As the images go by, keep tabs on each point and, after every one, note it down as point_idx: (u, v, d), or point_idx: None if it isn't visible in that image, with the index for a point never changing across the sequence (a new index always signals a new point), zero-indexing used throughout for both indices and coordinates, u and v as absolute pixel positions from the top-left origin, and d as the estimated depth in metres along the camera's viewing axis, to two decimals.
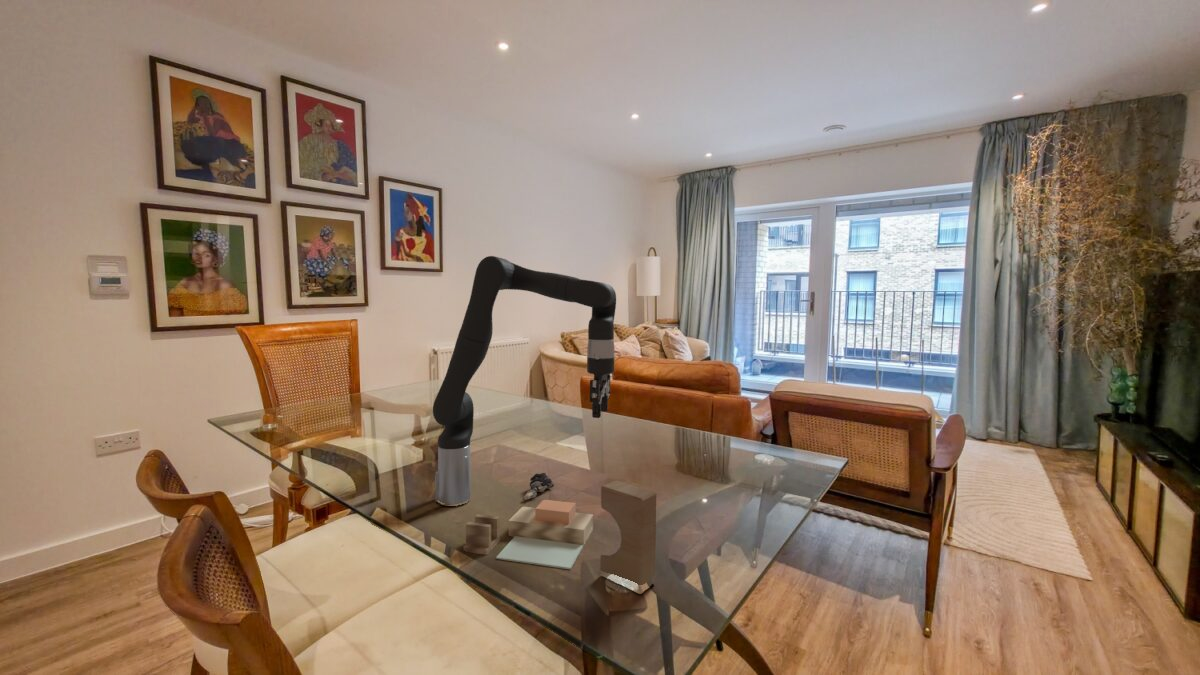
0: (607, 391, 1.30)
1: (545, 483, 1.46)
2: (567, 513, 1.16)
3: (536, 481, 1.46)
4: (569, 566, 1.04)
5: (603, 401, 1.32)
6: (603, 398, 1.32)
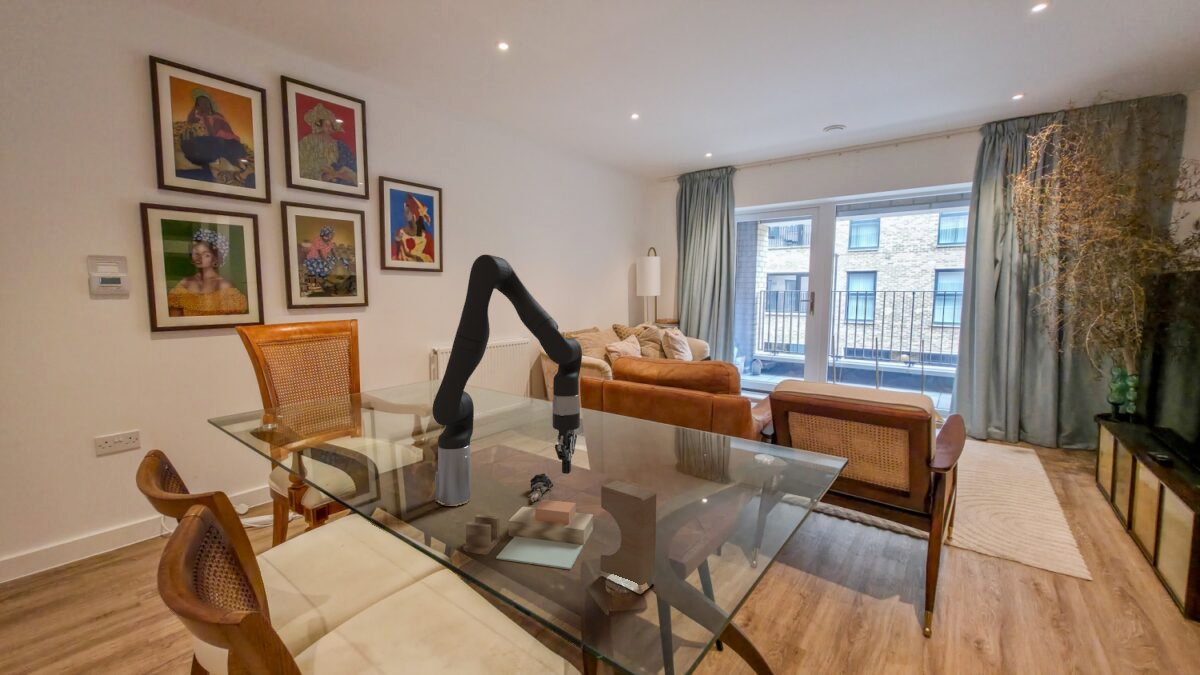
0: None
1: (547, 483, 1.46)
2: (567, 513, 1.16)
3: (538, 482, 1.45)
4: (569, 566, 1.04)
5: None
6: None
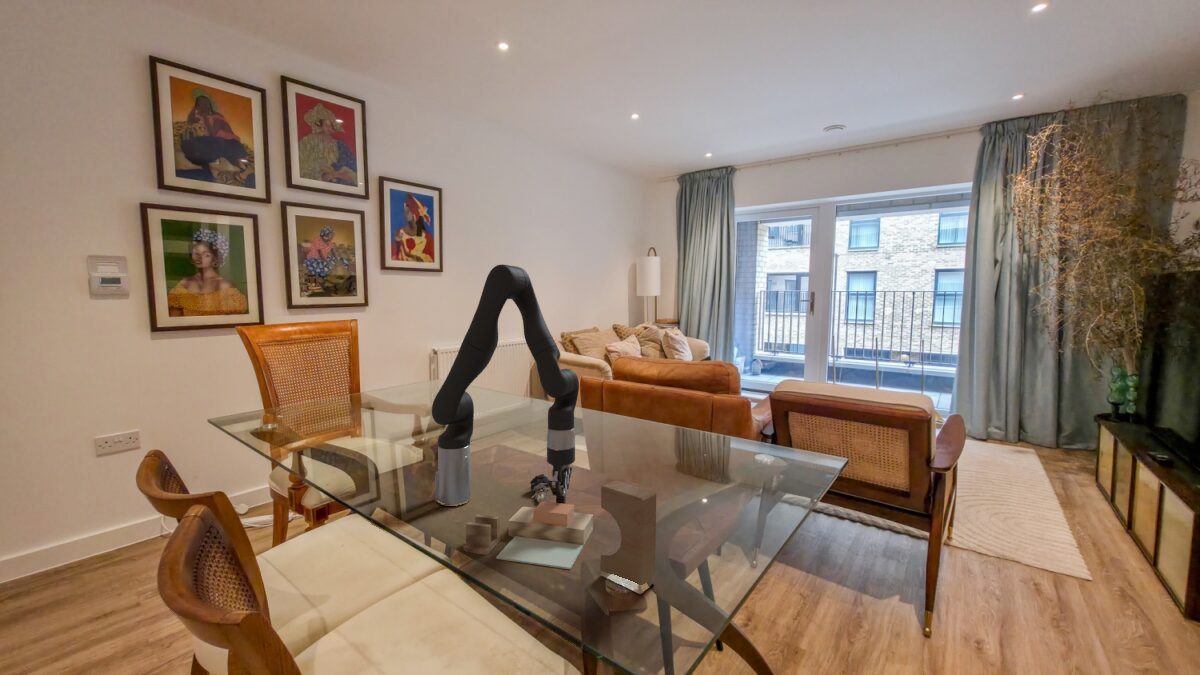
0: (566, 483, 1.24)
1: None
2: (565, 515, 1.15)
3: (540, 483, 1.45)
4: (569, 566, 1.04)
5: None
6: None
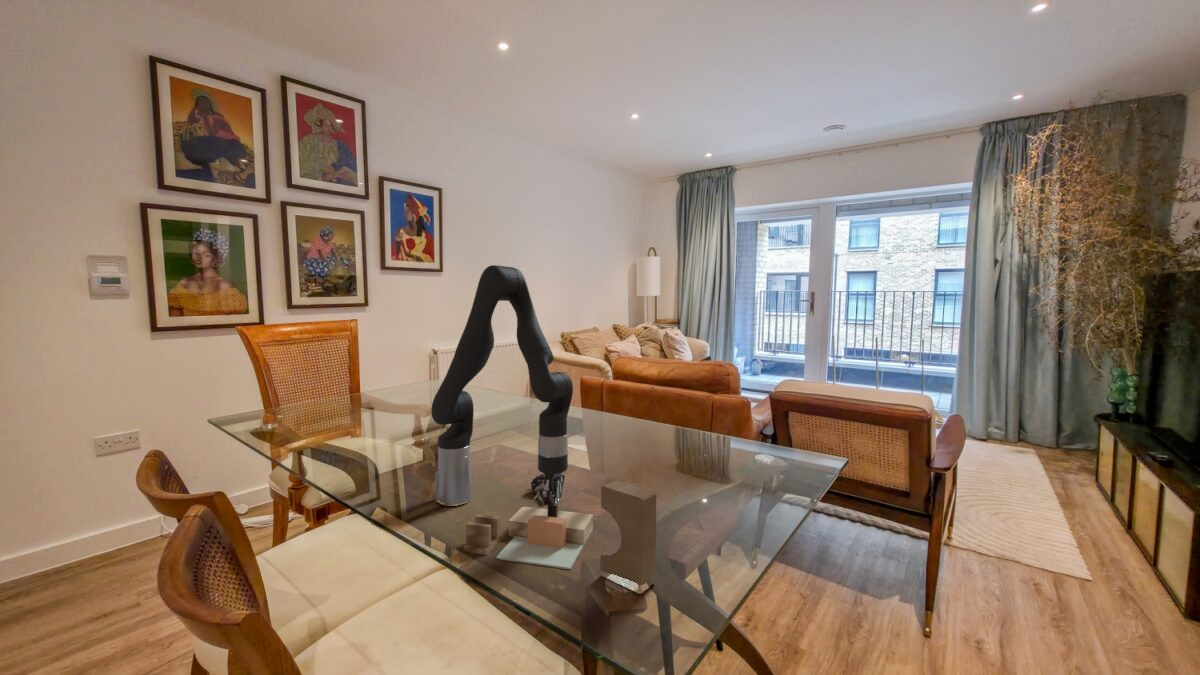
0: None
1: None
2: None
3: (542, 483, 1.44)
4: (569, 566, 1.04)
5: None
6: None
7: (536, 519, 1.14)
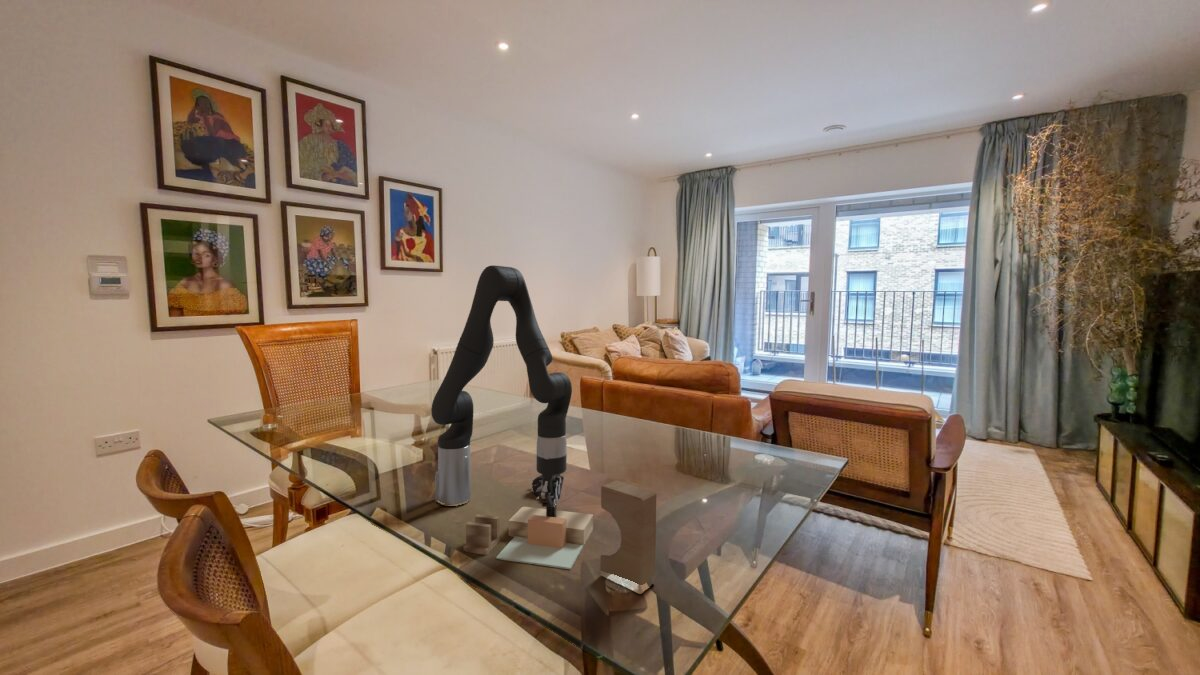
0: (557, 493, 1.17)
1: None
2: None
3: None
4: (569, 566, 1.04)
5: None
6: None
7: (536, 519, 1.14)
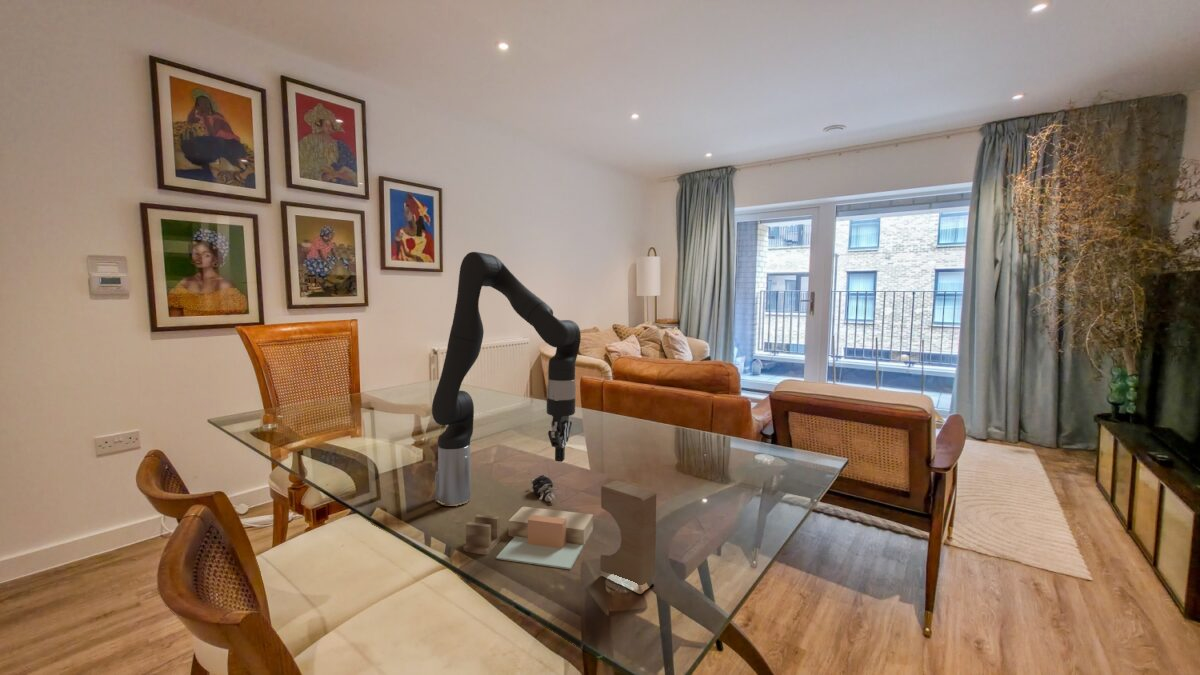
0: None
1: (552, 484, 1.46)
2: None
3: (545, 484, 1.44)
4: (569, 566, 1.04)
5: None
6: None
7: (536, 519, 1.14)
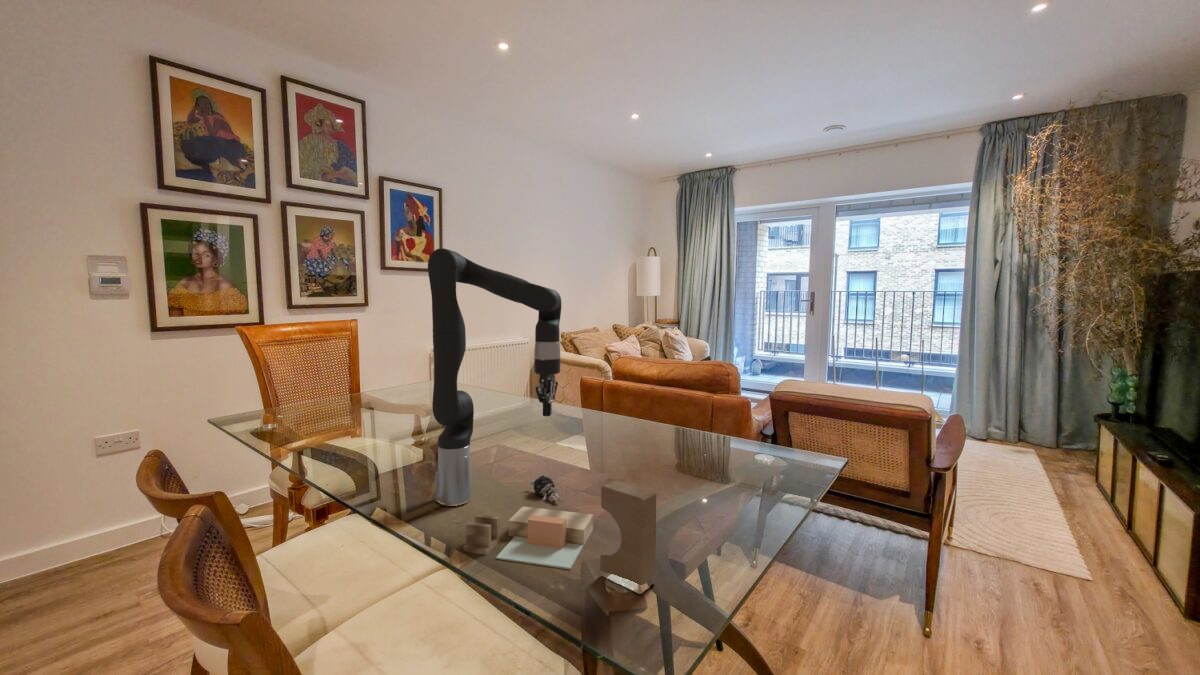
0: (552, 392, 1.36)
1: (553, 483, 1.46)
2: None
3: (547, 484, 1.44)
4: (569, 566, 1.04)
5: None
6: None
7: (536, 519, 1.14)
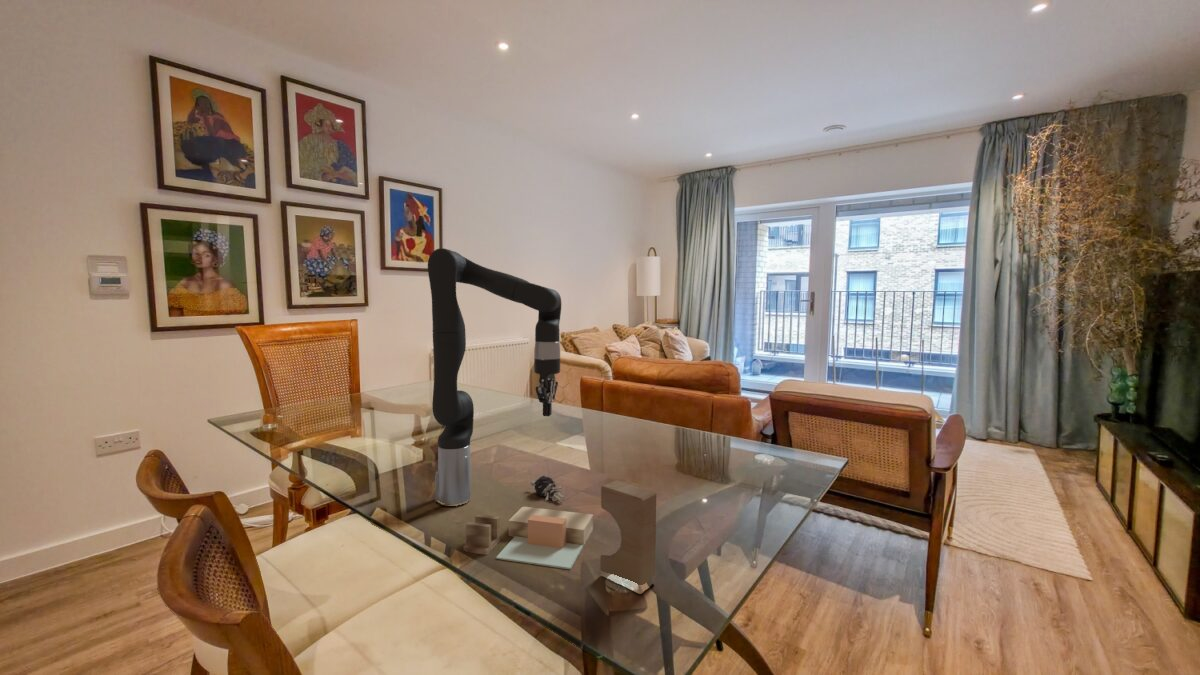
0: (552, 392, 1.36)
1: (554, 483, 1.46)
2: None
3: (549, 484, 1.44)
4: (569, 566, 1.04)
5: None
6: None
7: (536, 519, 1.14)
